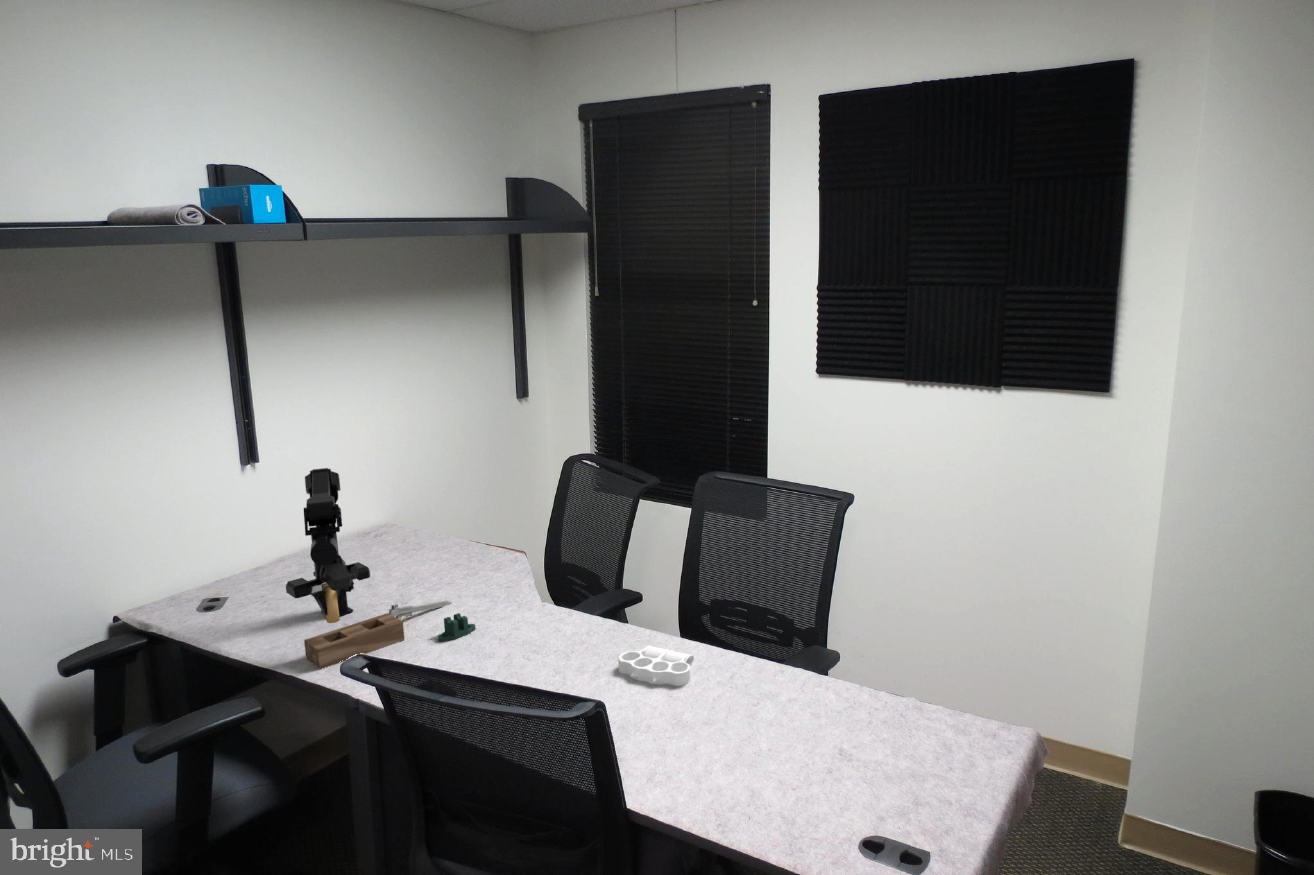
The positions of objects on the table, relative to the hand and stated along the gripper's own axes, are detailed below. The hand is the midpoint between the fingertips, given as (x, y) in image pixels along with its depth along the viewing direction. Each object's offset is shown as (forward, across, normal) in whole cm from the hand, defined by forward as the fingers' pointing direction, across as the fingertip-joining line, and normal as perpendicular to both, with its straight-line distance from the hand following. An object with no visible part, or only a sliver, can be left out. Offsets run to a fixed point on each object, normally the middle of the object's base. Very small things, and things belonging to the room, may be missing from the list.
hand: (332, 613), depth 218 cm
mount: (+12, +27, -11) cm, 31 cm away
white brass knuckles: (+12, +48, -63) cm, 80 cm away
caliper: (+12, +27, +7) cm, 30 cm away
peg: (+2, 0, 0) cm, 2 cm away
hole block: (+11, +5, 0) cm, 12 cm away
